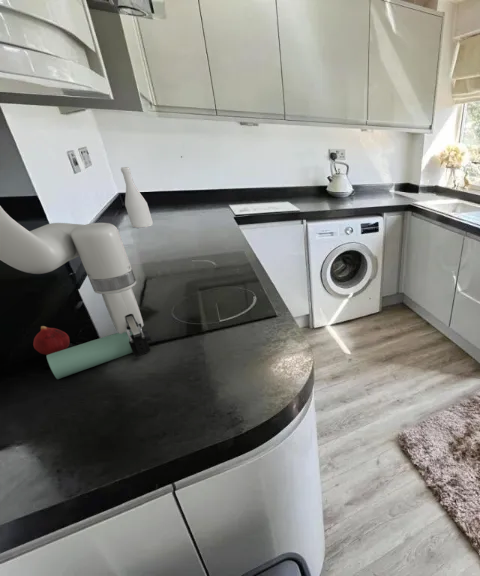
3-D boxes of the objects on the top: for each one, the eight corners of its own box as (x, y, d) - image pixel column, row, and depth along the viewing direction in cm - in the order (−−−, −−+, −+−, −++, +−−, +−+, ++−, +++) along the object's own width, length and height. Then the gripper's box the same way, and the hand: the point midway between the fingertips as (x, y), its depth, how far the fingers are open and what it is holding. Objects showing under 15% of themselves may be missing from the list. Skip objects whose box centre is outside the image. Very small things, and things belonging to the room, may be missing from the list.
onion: (79, 345, 80) (66, 317, 76) (67, 360, 75) (52, 330, 71) (50, 349, 78) (35, 321, 74) (35, 364, 73) (18, 335, 69)
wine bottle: (149, 227, 172) (131, 168, 159) (129, 228, 170) (109, 168, 157) (156, 223, 181) (139, 166, 167) (137, 224, 179) (118, 166, 165)
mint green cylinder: (58, 384, 68) (47, 362, 65) (56, 371, 71) (45, 350, 69) (155, 348, 79) (148, 329, 76) (149, 339, 82) (142, 320, 80)
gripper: (86, 273, 74) (113, 339, 82) (98, 299, 63) (128, 371, 71) (125, 265, 79) (148, 327, 87) (143, 287, 68) (167, 356, 76)
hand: (139, 346), depth 79 cm, fingers closed on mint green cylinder, 5 cm apart
